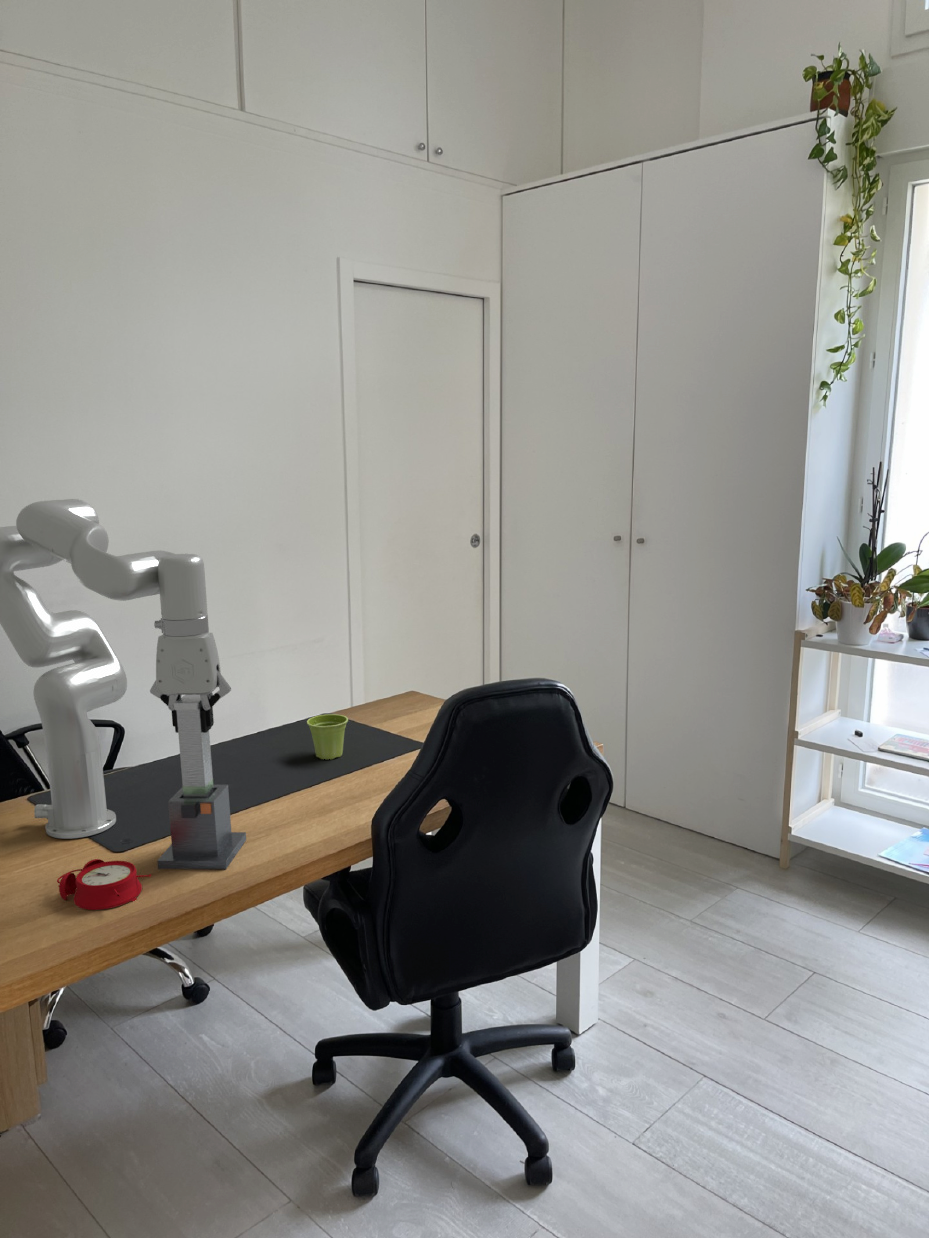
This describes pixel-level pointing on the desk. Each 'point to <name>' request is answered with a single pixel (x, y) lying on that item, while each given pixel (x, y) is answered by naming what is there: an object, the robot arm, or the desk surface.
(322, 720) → the plant pot
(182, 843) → the stand base
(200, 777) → the column
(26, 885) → the desk surface
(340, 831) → the desk surface
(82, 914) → the desk surface
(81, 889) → the alarm clock
